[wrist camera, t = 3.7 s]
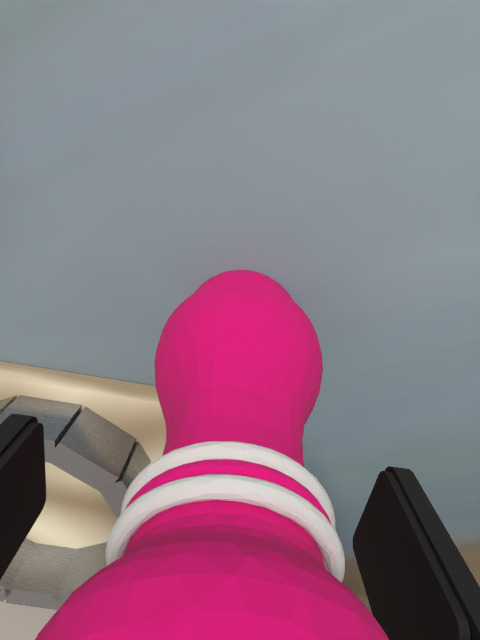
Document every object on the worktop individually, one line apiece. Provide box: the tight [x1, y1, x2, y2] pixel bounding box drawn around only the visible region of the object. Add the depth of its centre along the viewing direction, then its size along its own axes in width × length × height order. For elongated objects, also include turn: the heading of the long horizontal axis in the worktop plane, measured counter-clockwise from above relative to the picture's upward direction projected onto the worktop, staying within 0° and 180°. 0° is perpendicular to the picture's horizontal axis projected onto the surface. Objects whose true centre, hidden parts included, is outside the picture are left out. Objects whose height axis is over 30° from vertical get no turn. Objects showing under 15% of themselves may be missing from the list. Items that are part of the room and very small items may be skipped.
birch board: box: [0, 361, 166, 549], centre depth 24 cm, size 16×16×2 cm
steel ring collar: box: [0, 395, 151, 610], centre depth 22 cm, size 14×14×3 cm
